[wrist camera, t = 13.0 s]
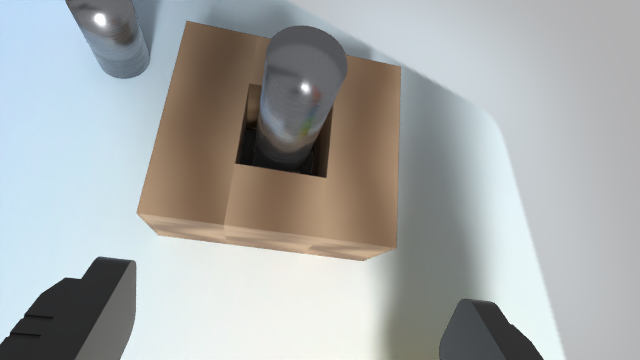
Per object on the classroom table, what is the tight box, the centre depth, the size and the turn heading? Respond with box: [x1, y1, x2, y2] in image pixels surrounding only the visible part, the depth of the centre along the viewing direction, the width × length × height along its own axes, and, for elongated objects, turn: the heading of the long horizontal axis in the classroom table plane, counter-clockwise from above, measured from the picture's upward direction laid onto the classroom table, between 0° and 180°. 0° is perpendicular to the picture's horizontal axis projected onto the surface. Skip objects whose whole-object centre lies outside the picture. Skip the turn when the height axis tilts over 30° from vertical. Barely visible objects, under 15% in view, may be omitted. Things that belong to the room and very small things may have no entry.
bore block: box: [137, 21, 401, 261], centre depth 29 cm, size 16×14×7 cm
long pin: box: [252, 26, 348, 174], centre depth 26 cm, size 4×4×15 cm
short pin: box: [65, 0, 150, 79], centre depth 30 cm, size 4×4×7 cm
